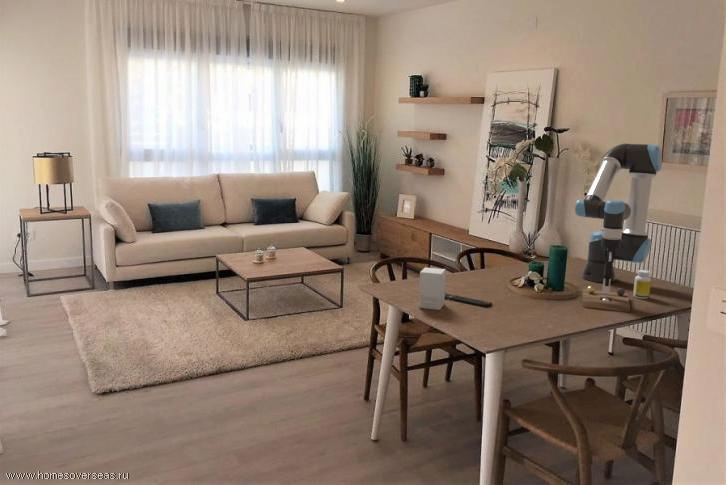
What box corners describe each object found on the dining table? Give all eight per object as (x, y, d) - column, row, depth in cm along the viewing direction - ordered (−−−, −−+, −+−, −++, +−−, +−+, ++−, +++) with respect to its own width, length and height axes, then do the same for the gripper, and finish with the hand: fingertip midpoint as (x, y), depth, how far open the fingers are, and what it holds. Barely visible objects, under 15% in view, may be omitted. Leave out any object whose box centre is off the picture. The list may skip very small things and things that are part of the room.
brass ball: (586, 292, 275) (587, 284, 275) (594, 292, 274) (595, 285, 274) (586, 293, 272) (587, 286, 272) (594, 294, 271) (595, 287, 271)
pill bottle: (650, 299, 275) (653, 273, 272) (634, 298, 276) (637, 272, 273) (647, 295, 281) (650, 269, 278) (631, 294, 282) (634, 268, 280)
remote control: (441, 295, 276) (441, 292, 276) (493, 306, 263) (493, 302, 263) (435, 298, 272) (435, 295, 272) (487, 309, 259) (488, 306, 258)
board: (582, 293, 281) (583, 288, 281) (626, 298, 276) (627, 292, 275) (582, 306, 263) (582, 300, 262) (629, 311, 257) (630, 305, 257)
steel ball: (601, 299, 267) (601, 296, 264) (609, 300, 266) (610, 297, 263) (600, 306, 266) (601, 303, 263) (609, 307, 265) (609, 304, 262)
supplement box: (445, 304, 262) (446, 268, 259) (440, 310, 254) (442, 274, 251) (423, 301, 265) (424, 266, 262) (418, 307, 257) (419, 271, 254)
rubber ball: (616, 293, 273) (616, 286, 273) (624, 294, 272) (625, 287, 272) (616, 295, 270) (617, 288, 270) (624, 296, 269) (625, 289, 269)
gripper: (601, 234, 271) (596, 288, 276) (602, 239, 259) (596, 295, 264) (620, 235, 269) (614, 290, 274) (621, 241, 257) (615, 298, 262)
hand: (605, 292), depth 269 cm, fingers closed
